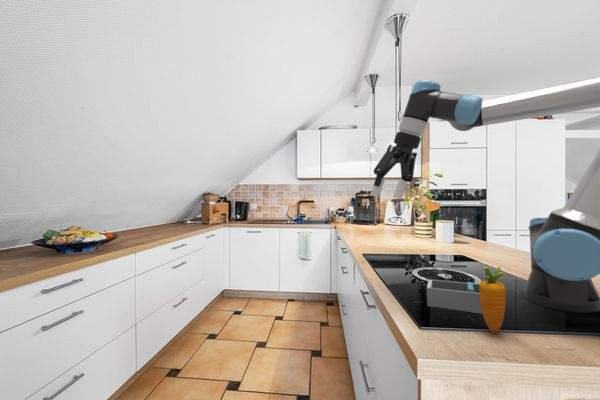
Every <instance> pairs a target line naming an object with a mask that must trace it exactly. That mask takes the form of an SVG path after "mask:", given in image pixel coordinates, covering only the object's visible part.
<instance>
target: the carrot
mask: <svg viewBox="0 0 600 400" xmlns="http://www.w3.org/2000/svg"><path fill="white" fill-rule="evenodd" d="M483 270H484V273H485V277H486V279H487V280H483V281H481V282H480V283H479V284H480V286H479V293H480V303H481V309H482V313H483V314H482V316H483V320H484V322H485V324H486V325H487V327H488V329H489V331H490V332H491V333H492V334H494V335H495V334H497V333H498V332H499V331H500V329H501V327H502V325H503V322H504V318H505V313H506V287H505V285H504V284H503V283H502V282H499V281H498V279H499V278H500V277H502V276H504V275H505V273H504V272H502V271H501V267H500V266H497V267H496V268H495V270H494V271H495V272H494V273H493V274H492V272H491V270H490V269H489V266H487V265H485V266H484V267H483Z"/></svg>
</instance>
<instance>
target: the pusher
mask: <svg viewBox="0 0 600 400" xmlns="http://www.w3.org/2000/svg"><path fill="white" fill-rule="evenodd" d="M466 283H467V289H468V292H474V288H473V284H472V283H473V282H471V281H469V282H468V281H466Z"/></svg>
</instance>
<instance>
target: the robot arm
mask: <svg viewBox="0 0 600 400" xmlns="http://www.w3.org/2000/svg"><path fill="white" fill-rule="evenodd" d="M441 88H442V87H441V84H440V83H438V82H436V81H431V80H429V79H421V80H418V81H416V82H415V84H414V86H413V88H412V90H411V93H410V94H409V96H408V97H409V98H408V101H407V103H406V106H405V109H404V112H403V116H402V117H401V121H400V123H399V126H398V131H397V132H396V133H395V134H396V135H395V137H394V139H393V143H394V144H395V145H393V144H389V145H388V148H387V149H386V151H385V153H384V154H383V156H382V157H381V159H380V160H379V161H378V163H377V164H376V166H375V167H374V169H373V174H374V175H376V176H375V180H374V183H373V185H372V190H371V192H370V196H373V197H375V198H378V199H379V197H380V195H381V192H382V190H383V187H384V185H385V181H386V177H385V176H387V174H389V172H390V171H391V170H392V169H393V168H394V167H395V166H396V165H397V164H400V173H401V176H400V177H401V179H399V180H398V183H397V186H396V187H395V190H394V193H393V196H392V197H394V198H395V199H398V200H401V199H402V197H403V195H404V192H405V189H406V187H407V184H408V183H411V182H412V181H413V179H414V172H415V164H416V159H417V155H418V153H417V152H414V151H413V150H414V149H415V150H417V149H418V147H419V146H420V143H421V140H422V137H423V136H424V133H425V130H426V127H427V125H428V122H429V119H430V118H432V119H436V120H442V121H446V122H448V123H449V124H450V126H452V128H454V129H455V130H456V131H460V132H466V131H470V130H472V129H474V128H478V127H482V126H489V125H497V124H502V123H509V122H514V121H521V120H527V119H535V118H541V117H546V116H552V115H558V114H564V113H565V114H566V113H570V112H577V111H583V110H590V109H591V110H592V109H597V108H600V75H598V76H594V77H590V78H583V79H579V80H574V81H569V82H565V83H561V84H555V85H550V86H547V87H541V88H536V89H531V90H528V91H527V90H526V91H523V92H522V91H521V92H517V93H512V94H509V95H504V96H499V97H494V98H490V99H483V98H482V97H481V96H477V95H472V94H469V93H467V94H466V93H465V94H464V93H457V92H456V93H455V92H447V91H442V90H441ZM592 159H593V160H592V161H591V162H590V164H589V166H588V167H587V169H586V171H585V172H584V174H583V175H582V177H581V179H580V180H579V182H578V184H577V185H576V187H575V189H574V190H573V192H572V193H571V195H570V197H569V198H568V200H567V201H566V202H565V204H564V206H563V207H561V208H557V209H555V210H552V211H551V212H550V213H549V215H548V216H547V217H534V218H531V219H530V220H529V226H528V230H529V243H530V244H529V245H530V264H531V265H530V266H531V267H530V268H531V271H530V274H529V275H528V279H527V282H526V284H525V286H524V297H525V299H526V300H528V301H529V302H532V303H534V304H536V305H539V306H542V307H545V308H548V309H549V308H550V309H554V310H558V311H563V312H571V313H580V314H581V313H585V314H586V313H587V314H589V313H598V312H600V294H599V292H598V290H597V288H596V287H595V285H594V282H593V280H592V279H593V278H595V277H597V276H599V275H600V149H599V150H598V151H597V153H596V154H595V156H594V157H593V158H592Z"/></svg>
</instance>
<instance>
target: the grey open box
mask: <svg viewBox="0 0 600 400" xmlns="http://www.w3.org/2000/svg"><path fill="white" fill-rule="evenodd" d="M472 284H473V288H474V292H468V289H467V282H464V281H463V282H462V281H453V280H442V279H441V280H440V279H432V278H430V279H428V280H427V286H426V302H427V304H426V305H427V307H430V308H431V307H432V308H437V309H445V310H453V311H460V312H467V313H473V314H474V313H475V314H481V315H483V313H482V309H481V303H480V293H479V286H480V283H476V282H475V283H474V282H472Z"/></svg>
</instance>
